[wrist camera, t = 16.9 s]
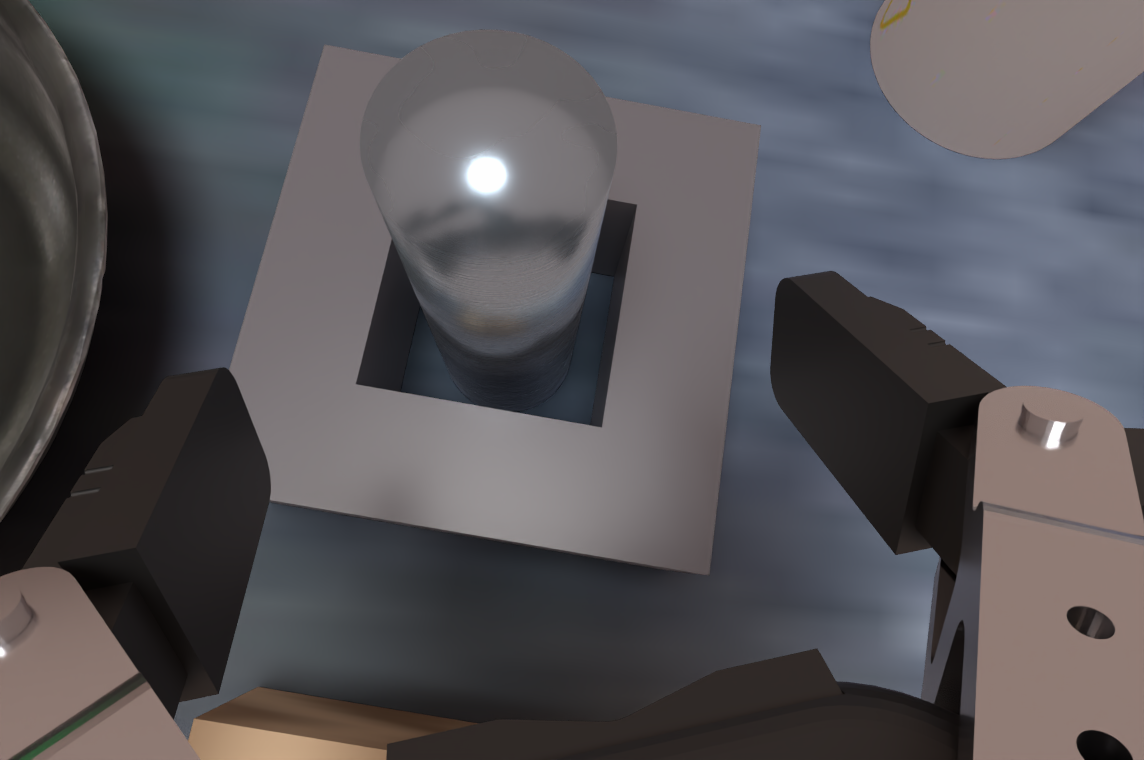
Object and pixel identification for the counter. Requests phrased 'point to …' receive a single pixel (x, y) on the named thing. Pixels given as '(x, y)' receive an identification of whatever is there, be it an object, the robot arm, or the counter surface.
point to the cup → (1003, 67)
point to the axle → (493, 202)
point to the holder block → (486, 435)
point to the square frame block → (305, 728)
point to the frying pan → (43, 241)
